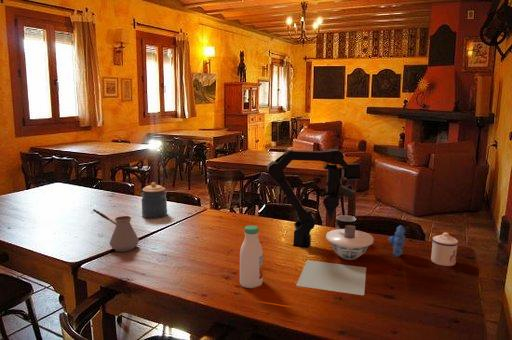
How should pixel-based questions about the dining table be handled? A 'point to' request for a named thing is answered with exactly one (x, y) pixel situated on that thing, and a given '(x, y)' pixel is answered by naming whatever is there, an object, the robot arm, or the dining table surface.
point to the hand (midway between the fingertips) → (332, 216)
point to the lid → (349, 237)
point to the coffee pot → (122, 233)
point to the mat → (333, 277)
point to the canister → (154, 201)
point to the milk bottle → (251, 259)
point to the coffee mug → (345, 221)
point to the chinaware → (348, 251)
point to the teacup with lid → (444, 250)
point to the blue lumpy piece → (398, 240)
